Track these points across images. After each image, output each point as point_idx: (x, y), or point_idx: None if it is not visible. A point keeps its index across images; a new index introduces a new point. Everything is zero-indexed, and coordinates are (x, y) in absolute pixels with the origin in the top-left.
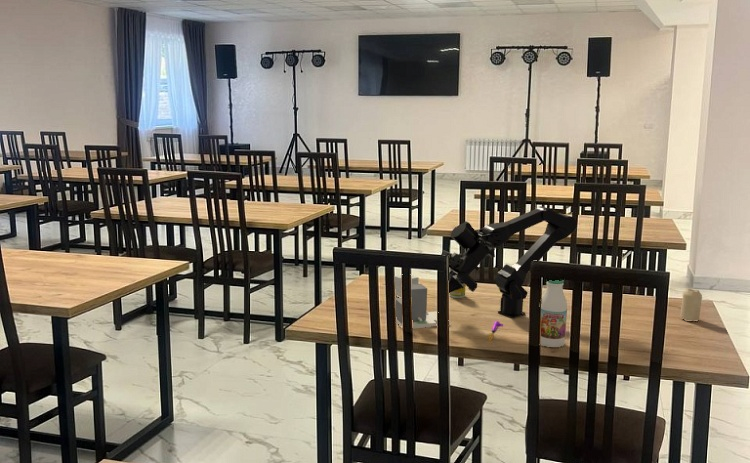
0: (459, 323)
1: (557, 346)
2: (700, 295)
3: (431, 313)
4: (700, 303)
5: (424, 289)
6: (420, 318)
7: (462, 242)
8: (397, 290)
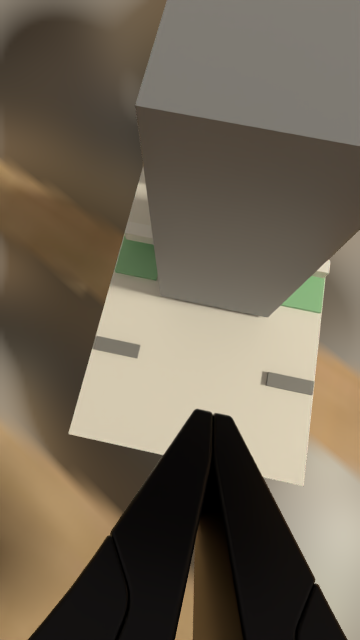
0: (72, 526)
1: None
2: None
3: (277, 418)
4: None
5: (149, 81)
6: (141, 231)
7: None
8: None
